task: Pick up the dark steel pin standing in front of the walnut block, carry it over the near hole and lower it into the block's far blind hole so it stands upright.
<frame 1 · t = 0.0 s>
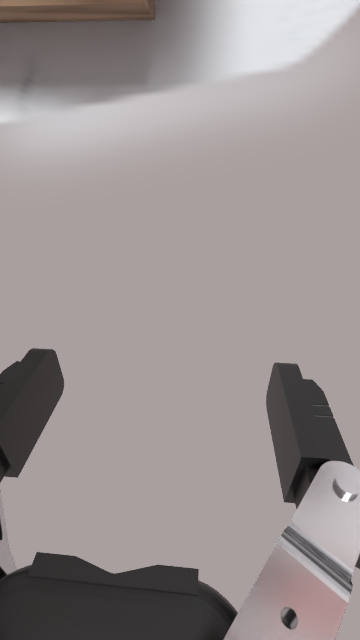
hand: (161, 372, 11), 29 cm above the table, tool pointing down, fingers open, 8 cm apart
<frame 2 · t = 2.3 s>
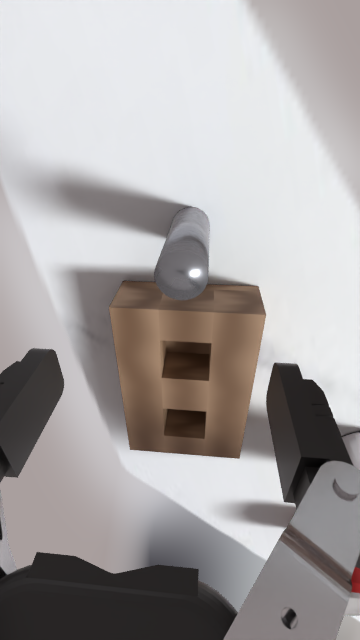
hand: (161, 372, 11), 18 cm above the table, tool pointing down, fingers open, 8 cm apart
pin: (190, 226, 26), on the table
canned food: (322, 520, 52), on the table
hole block: (188, 362, 35), on the table
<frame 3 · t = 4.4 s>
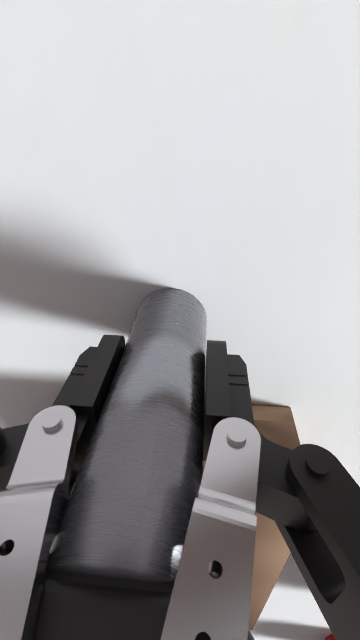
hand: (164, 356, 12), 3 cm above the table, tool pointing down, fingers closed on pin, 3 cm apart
pin: (172, 318, 14), on the table, touching gripper
canned food: (354, 638, 41), on the table
hole block: (174, 491, 23), on the table
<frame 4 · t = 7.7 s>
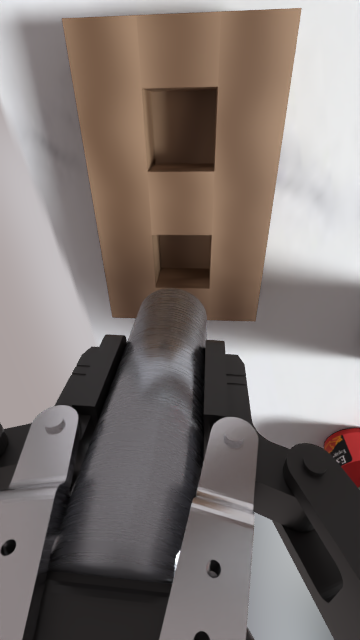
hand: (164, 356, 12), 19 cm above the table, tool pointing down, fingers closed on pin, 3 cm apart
pin: (172, 318, 14), point 16 cm above the table, touching gripper
canned food: (350, 442, 44), on the table
hole block: (185, 190, 26), on the table
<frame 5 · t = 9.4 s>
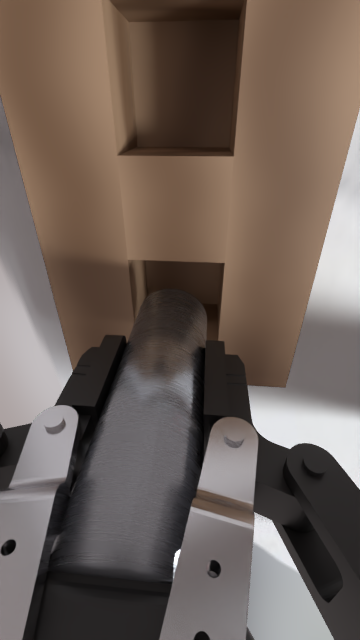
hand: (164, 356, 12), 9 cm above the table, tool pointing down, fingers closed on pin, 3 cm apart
pin: (172, 318, 14), point 7 cm above the table, touching gripper
hole block: (184, 190, 17), on the table
when the fingers open (6 cm above the table, at t = 10.7 s): pin drops 2 cm, resting on hole block.
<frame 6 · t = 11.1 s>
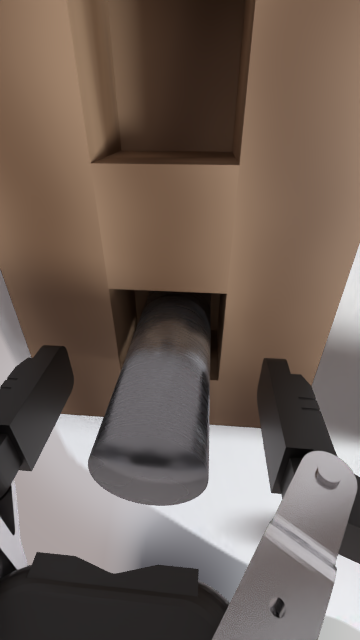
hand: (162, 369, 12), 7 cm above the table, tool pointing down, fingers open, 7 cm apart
pin: (181, 293, 16), point 1 cm above the table, touching hole block
hole block: (178, 201, 15), on the table
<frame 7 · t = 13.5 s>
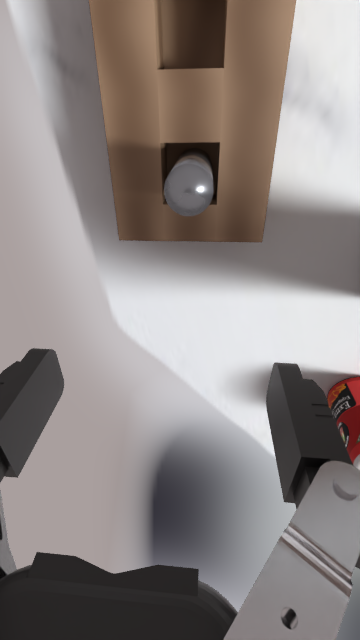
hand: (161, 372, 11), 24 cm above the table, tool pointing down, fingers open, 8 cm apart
pin: (194, 167, 28), point 1 cm above the table, touching hole block
canned food: (354, 393, 44), on the table
hole block: (192, 108, 26), on the table
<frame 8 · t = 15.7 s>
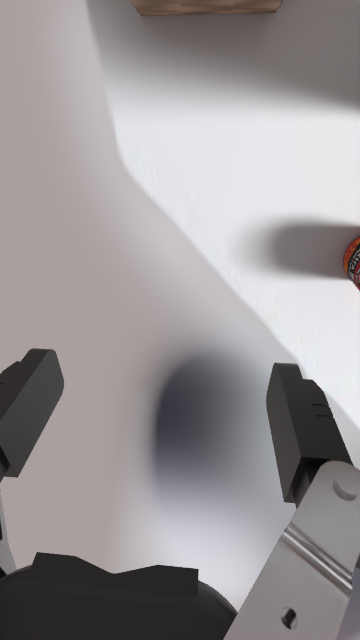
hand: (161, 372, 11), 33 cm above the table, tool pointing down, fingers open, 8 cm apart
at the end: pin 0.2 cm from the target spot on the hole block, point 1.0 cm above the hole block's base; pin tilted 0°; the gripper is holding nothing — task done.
